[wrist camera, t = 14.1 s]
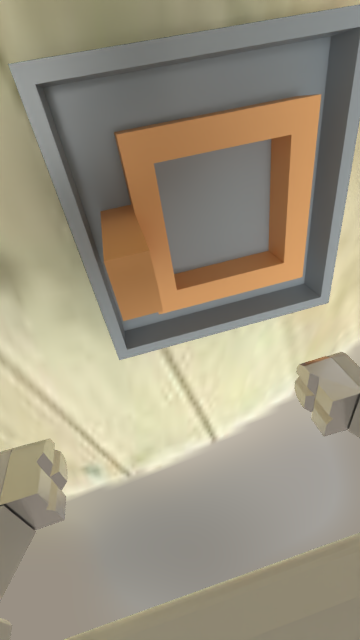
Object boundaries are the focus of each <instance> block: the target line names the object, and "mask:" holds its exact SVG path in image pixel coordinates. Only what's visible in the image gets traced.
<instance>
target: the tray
mask: <svg viewBox="0 0 360 640" xmlns="http://www.w3.org/2000/svg"><path fill="white" fill-rule="evenodd" d="M8 65H9V68H10V71H11V73H12V76H13V79H14V81H15V84H16V87H17V89H18V92H19V95H20V97H21V100H22V103H23V105H24V108H25V111H26V113H27V116H28V118H29V121H30V124H31V126H32V129H33V132H34V134H35V137H36V140H37V142H38V145H39V148H40V150H41V153H42V156H43V158H44V161H45V164H46V166H47V169H48V172H49V174H50V177H51V180H52V182H53V185H54V188H55V190H56V193H57V195H58V198H59V201H60V203H61V206H62V209H63V211H64V214H65V217H66V219H67V222H68V225H69V227H70V230H71V233H72V235H73V238H74V241H75V243H76V246H77V249H78V251H79V254H80V257H81V259H82V262H83V264H84V267H85V270H86V272H87V275H88V278H89V280H90V283H91V286H92V288H93V291H94V294H95V296H96V299H97V302H98V304H99V307H100V310H101V312H102V315H103V318H104V320H105V323H106V326H107V328H108V331H109V333H110V336H111V339H112V341H113V344H114V347H115V349H116V352H117V355H118V357H119V360H122V359H125V358H129V357H133V356H136V355H140V354H144V353H147V352H151V351H154V350H158V349H162V348H165V347H169V346H173V345H176V344H180V343H184V342H187V341H191V340H195V339H198V338H202V337H206V336H209V335H213V334H217V333H220V332H224V331H228V330H231V329H235V328H238V327H242V326H246V325H249V324H253V323H257V322H260V321H264V320H268V319H271V318H275V317H279V316H282V315H286V314H290V313H293V312H297V311H301V310H304V309H308V308H312V307H315V306H319V305H322V304H326V303H328V302H329V296H330V291H331V285H332V279H333V273H334V267H335V261H336V255H337V250H338V244H339V238H340V232H341V226H342V220H343V215H344V209H345V203H346V197H347V191H348V185H349V179H350V174H351V168H352V162H353V156H354V150H355V144H356V138H357V133H358V127H359V121H360V5H354V6H348V7H342V8H336V9H330V10H324V11H318V12H313V13H307V14H301V15H295V16H289V17H283V18H277V19H271V20H265V21H259V22H253V23H248V24H242V25H236V26H230V27H224V28H218V29H212V30H206V31H200V32H194V33H188V34H182V35H177V36H171V37H165V38H159V39H153V40H147V41H141V42H135V43H129V44H123V45H117V46H112V47H106V48H100V49H94V50H88V51H82V52H76V53H70V54H64V55H58V56H52V57H47V58H41V59H35V60H29V61H23V62H17V63H11V64H8ZM317 94H321V103H320V112H319V122H318V132H317V141H316V151H315V161H314V170H313V180H312V190H311V199H310V209H309V219H308V228H307V238H306V248H305V257H304V267H303V277H301V278H297V279H293V280H290V281H286V282H282V283H278V284H274V285H270V286H267V287H263V288H259V289H255V290H251V291H247V292H244V293H240V294H236V295H232V296H228V297H225V298H221V299H217V300H213V301H209V302H205V303H202V304H198V305H194V306H190V307H186V308H182V309H179V310H175V311H171V312H167V313H163V314H160V315H159V313H158V312H157V313H153V314H149V315H145V316H142V317H138V318H134V319H130V320H126V321H123V318H122V315H121V312H120V309H119V306H118V303H117V300H116V297H115V294H114V291H113V288H112V285H111V282H110V279H109V276H108V273H107V270H106V267H105V264H104V258H103V243H102V228H101V213H100V211H104V210H108V209H113V208H117V207H122V206H126V205H131V202H130V198H129V194H128V189H127V185H126V181H125V177H124V173H123V169H122V164H121V160H120V156H119V152H118V148H117V144H116V140H115V135H114V132H117V131H122V130H127V129H132V128H137V127H142V126H147V125H152V124H158V123H163V122H168V121H173V120H178V119H183V118H188V117H193V116H198V115H203V114H208V113H213V112H218V111H224V110H229V109H234V108H239V107H244V106H249V105H254V104H259V103H264V102H269V101H274V100H279V99H284V98H290V97H295V96H304V95H317ZM154 168H155V173H156V178H157V184H158V189H159V195H160V200H161V206H162V211H163V217H164V222H165V228H166V233H167V239H168V244H169V250H170V255H171V261H172V266H173V271H174V274H177V273H181V272H185V271H189V270H193V269H197V268H201V267H205V266H209V265H213V264H217V263H221V262H225V261H229V260H233V259H237V258H241V257H245V256H249V255H253V254H257V253H261V252H265V251H268V250H269V212H270V173H271V139H268V140H263V141H258V142H253V143H249V144H244V145H239V146H234V147H230V148H225V149H220V150H215V151H211V152H206V153H201V154H196V155H192V156H187V157H182V158H177V159H173V160H168V161H163V162H158V163H154Z"/></svg>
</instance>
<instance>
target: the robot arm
mask: <svg viewBox="0 0 360 640" xmlns="http://www.w3.org/2000/svg"><path fill="white" fill-rule="evenodd" d="M296 373H297V374H298V375H299V377H298V379H297V380H296V381H295V392H296V396H297V398H298V399H299V402H300V403H301V405H302V406H303V408H305V409H307V410H309V411H310V412H312V421H313V422H314V423H315V425H316V426H317V428H318V429H319V430H320V432H321V433H322V435H323V436H327V435H331V434H334V433H337V432H341V431H345V430H348V429H349V430H348V431H349V432H351V433H353V434H354V435H356V436H357V437H359V438H360V367H359V366H358V365H357V364H356V363H355V362H354V361H353V360H352V359H351V358H350V357H349V356H348V355H347V354H345V353H343V352H340V353H336V354H333V355H330V356H327V357H326V356H325V357H322V358H318V359H315V360H312V361H309V362H305V363H302V364H299V365H298V367H297V371H296ZM54 448H55V443H54V442H53V441H52V440H51V439H50V438H49V439H46V440H42V441H38V442H35V443H31V444H27V445H24V446H20V447H16V448H12V449H9V450H5V451H2V452H0V601H1V599H2V597H3V595H4V593H5V591H6V589H7V587H8V585H9V583H10V581H11V579H12V577H13V575H14V573H15V572H16V570H17V568H18V566H19V564H20V562H21V560H22V558H23V556H24V554H25V552H26V550H27V548H28V546H29V545H30V543H31V540H32V539H33V537H34V535H35V532H36V531H35V530H37V529H40V528H43V527H46V526H49V525H52V524H55V523H57V522H60V521H63V520H64V519H65V505H66V496H65V494H64V493H63V492H62V491H61V490H62V489H63V487H64V485H65V484H66V482H67V465H66V460H65V458H64V456H63V454H62V453H61V452H60V451H57V450H54ZM11 629H12V625H11V624H10V622H9V621H8V620H5V619H2V618H0V640H10V636H11ZM64 640H360V533H357V534H355V535H352V536H349V537H346V538H343V539H341V540H338V541H335V542H332V543H330V544H327V545H324V546H321V547H319V548H316V549H313V550H310V551H307V552H305V553H302V554H299V555H296V556H294V557H291V558H288V559H285V560H283V561H280V562H277V563H274V564H271V565H269V566H266V567H263V568H260V569H258V570H255V571H252V572H249V573H247V574H244V575H241V576H238V577H235V578H233V579H230V580H227V581H224V582H222V583H219V584H216V585H213V586H211V587H208V588H205V589H202V590H199V591H197V592H194V593H191V594H188V595H186V596H183V597H180V598H177V599H175V600H172V601H169V602H166V603H164V604H161V605H158V606H155V607H152V608H150V609H147V610H144V611H141V612H139V613H136V614H133V615H130V616H128V617H125V618H122V619H119V620H116V621H114V622H111V623H108V624H105V625H103V626H100V627H97V628H94V629H92V630H89V631H86V632H83V633H80V634H78V635H75V636H72V637H69V638H67V639H64Z"/></svg>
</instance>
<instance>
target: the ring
mask: <svg viewBox="0 0 360 640" xmlns="http://www.w3.org/2000/svg"><path fill="white" fill-rule="evenodd" d="M320 103H321V94H317V95H304V96H295V97H290V98H284V99H279V100H274V101H269V102H264V103H259V104H254V105H249V106H244V107H239V108H234V109H229V110H224V111H218V112H213V113H208V114H203V115H198V116H193V117H188V118H183V119H178V120H173V121H168V122H163V123H158V124H152V125H147V126H142V127H137V128H132V129H127V130H122V131H117V132H114V135H115V140H116V144H117V148H118V152H119V156H120V160H121V164H122V169H123V173H124V177H125V181H126V185H127V189H128V194H129V198H130V202H131V205H126V206H122V207H117V208H113V209H108V210H104V211H100V213H101V228H102V243H103V258H104V264H105V267H106V270H107V273H108V276H109V279H110V282H111V285H112V288H113V291H114V294H115V297H116V300H117V303H118V306H119V309H120V312H121V315H122V318H123V321H126V320H130V319H134V318H138V317H142V316H145V315H149V314H153V313H157V312H158V313H159V315H160V314H163V313H167V312H171V311H175V310H179V309H182V308H186V307H190V306H194V305H198V304H202V303H205V302H209V301H213V300H217V299H221V298H225V297H228V296H232V295H236V294H240V293H244V292H247V291H251V290H255V289H259V288H263V287H267V286H270V285H274V284H278V283H282V282H286V281H290V280H293V279H297V278H301V277H303V267H304V257H305V248H306V238H307V228H308V219H309V209H310V199H311V190H312V180H313V170H314V161H315V151H316V141H317V132H318V122H319V112H320ZM268 139H271V173H270V212H269V250H268V251H265V252H261V253H257V254H253V255H249V256H245V257H241V258H237V259H233V260H229V261H225V262H221V263H217V264H213V265H209V266H205V267H201V268H197V269H193V270H189V271H185V272H181V273H177V274H174V271H173V266H172V261H171V255H170V250H169V244H168V239H167V233H166V228H165V222H164V217H163V211H162V206H161V200H160V195H159V189H158V184H157V178H156V173H155V168H154V163H158V162H163V161H168V160H173V159H177V158H182V157H187V156H192V155H196V154H201V153H206V152H211V151H215V150H220V149H225V148H230V147H234V146H239V145H244V144H249V143H253V142H258V141H263V140H268Z"/></svg>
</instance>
